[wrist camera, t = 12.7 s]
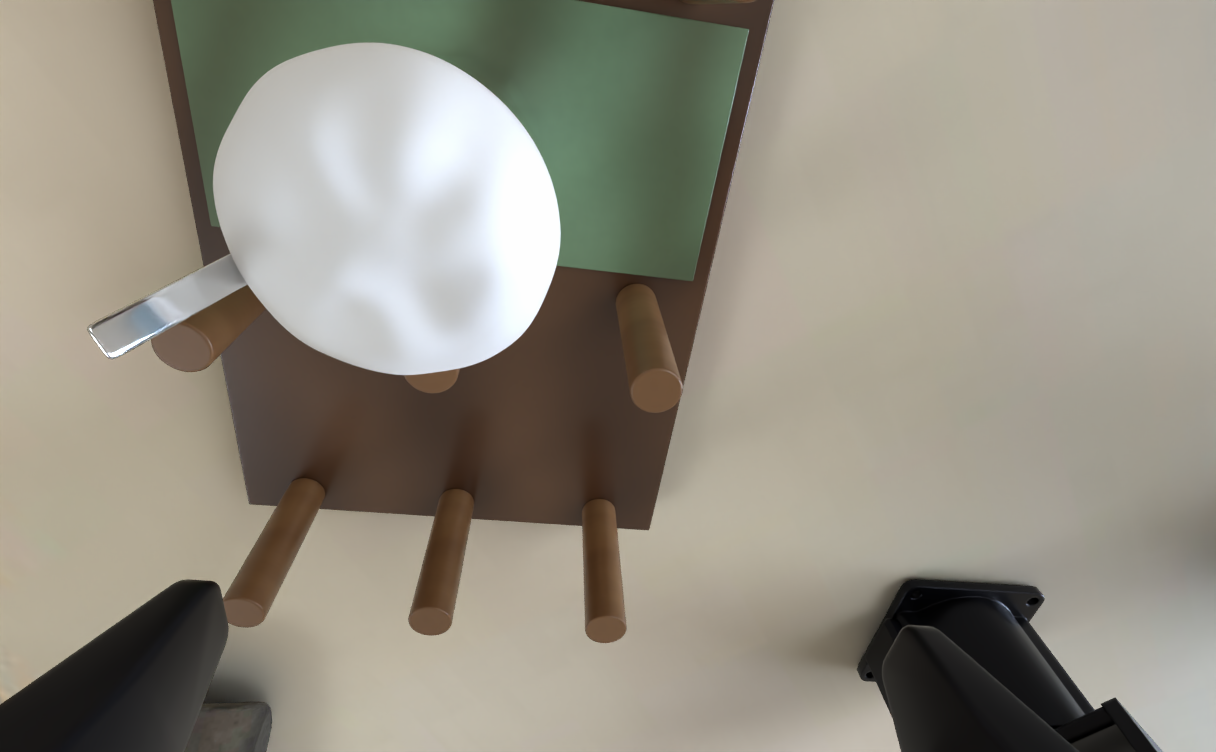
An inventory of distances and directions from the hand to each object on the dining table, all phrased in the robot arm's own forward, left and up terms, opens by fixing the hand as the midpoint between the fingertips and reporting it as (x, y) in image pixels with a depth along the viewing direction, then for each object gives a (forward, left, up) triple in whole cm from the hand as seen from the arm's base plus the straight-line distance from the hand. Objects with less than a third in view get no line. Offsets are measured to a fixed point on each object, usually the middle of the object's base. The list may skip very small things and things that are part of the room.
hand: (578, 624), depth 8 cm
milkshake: (+3, -4, -11) cm, 12 cm away
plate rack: (+3, 0, -13) cm, 13 cm away
